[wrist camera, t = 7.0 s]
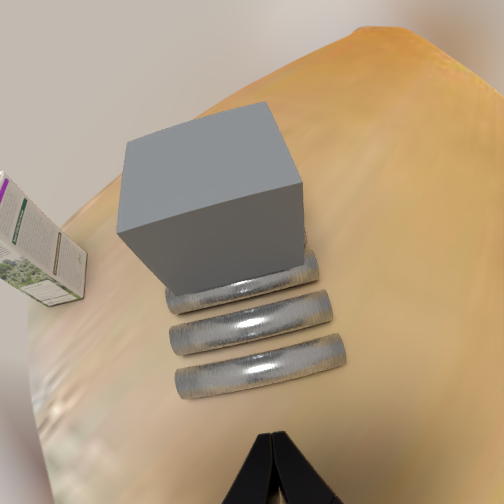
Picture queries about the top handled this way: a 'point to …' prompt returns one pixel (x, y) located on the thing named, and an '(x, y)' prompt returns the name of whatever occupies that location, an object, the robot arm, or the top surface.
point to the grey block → (213, 201)
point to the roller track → (254, 333)
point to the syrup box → (37, 251)
